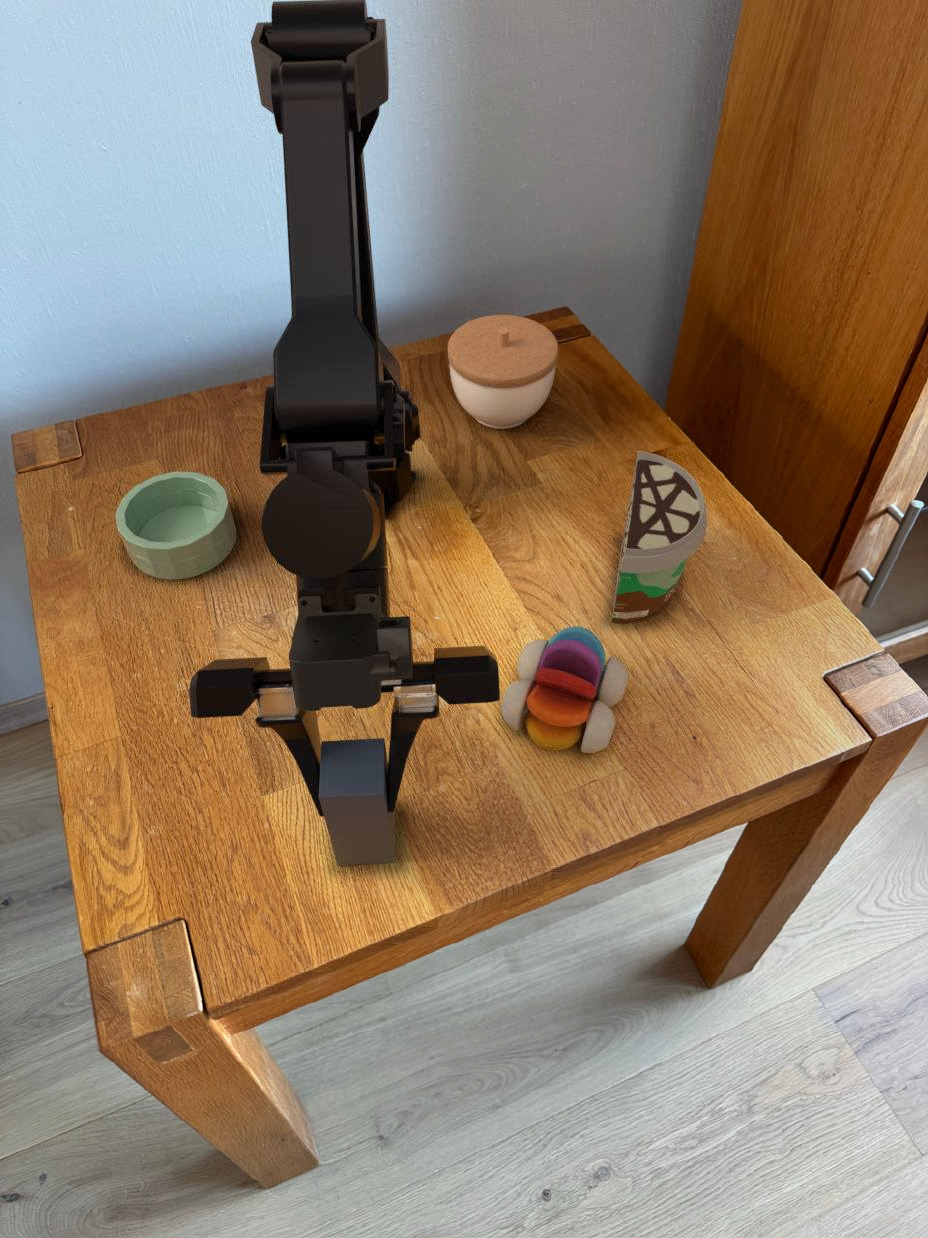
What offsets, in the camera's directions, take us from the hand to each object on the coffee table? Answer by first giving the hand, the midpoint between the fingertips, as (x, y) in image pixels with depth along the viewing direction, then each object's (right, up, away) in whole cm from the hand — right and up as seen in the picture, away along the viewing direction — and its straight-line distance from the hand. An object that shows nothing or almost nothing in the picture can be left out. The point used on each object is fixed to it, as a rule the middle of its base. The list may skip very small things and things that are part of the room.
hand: (357, 812), depth 59 cm
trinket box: (+11, +34, +36) cm, 50 cm away
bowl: (-19, +20, +24) cm, 36 cm away
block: (0, -3, +6) cm, 7 cm away
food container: (+23, +15, +21) cm, 35 cm away
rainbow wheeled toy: (+15, +5, +13) cm, 20 cm away
